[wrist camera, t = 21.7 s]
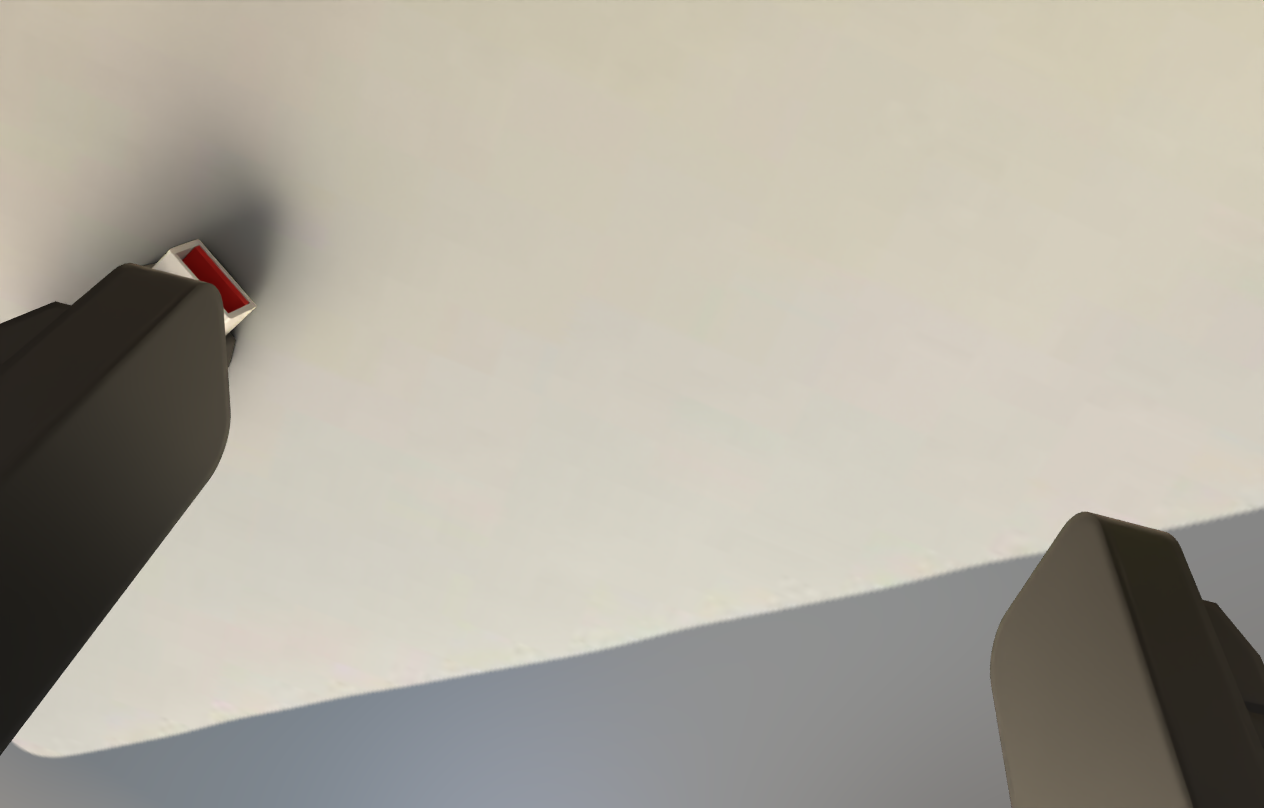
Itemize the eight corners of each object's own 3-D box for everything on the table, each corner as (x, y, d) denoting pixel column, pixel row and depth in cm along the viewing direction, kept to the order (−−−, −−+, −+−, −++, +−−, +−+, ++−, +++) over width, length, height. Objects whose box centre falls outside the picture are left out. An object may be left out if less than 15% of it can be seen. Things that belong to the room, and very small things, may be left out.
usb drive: (27, 384, 43) (-26, 407, 40) (185, 217, 38) (136, 232, 35) (111, 475, 43) (65, 504, 41) (277, 323, 39) (236, 345, 36)
